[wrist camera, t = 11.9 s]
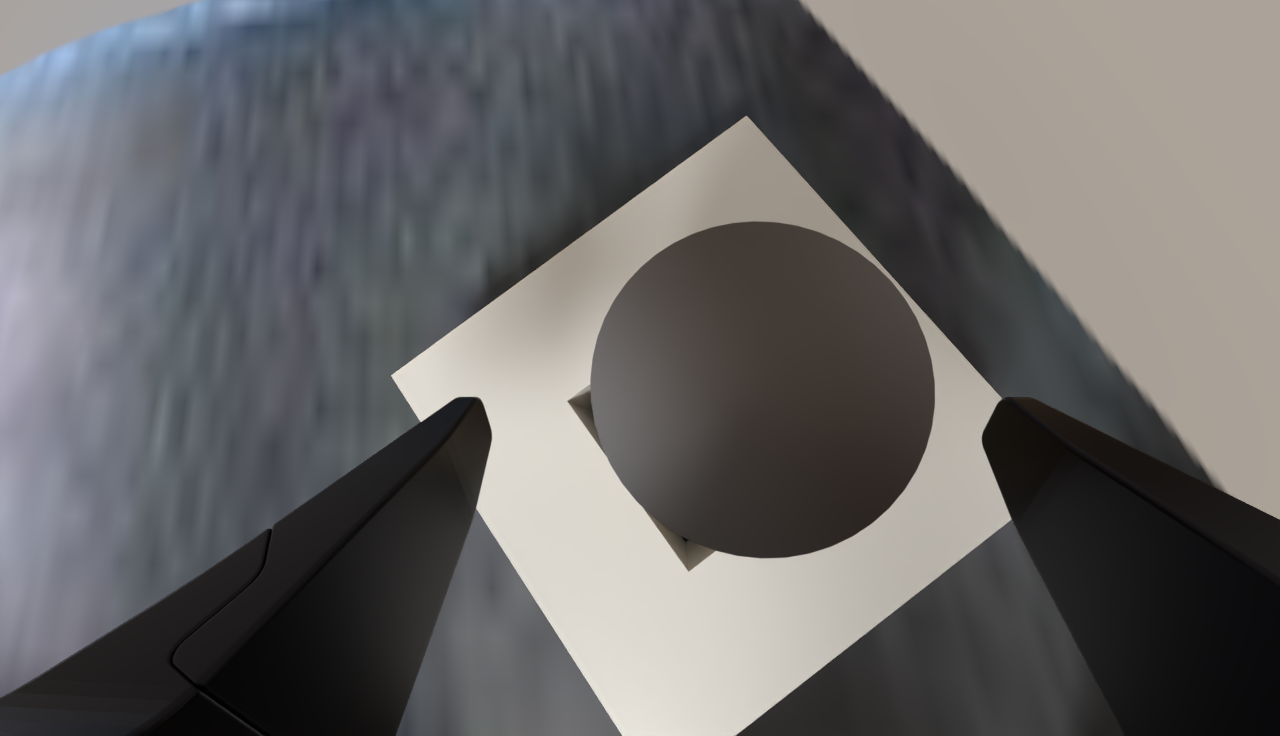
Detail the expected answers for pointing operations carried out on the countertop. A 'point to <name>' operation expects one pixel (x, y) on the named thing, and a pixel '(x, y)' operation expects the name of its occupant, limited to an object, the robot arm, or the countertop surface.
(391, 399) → the countertop surface
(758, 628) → the socket block
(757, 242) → the peg
